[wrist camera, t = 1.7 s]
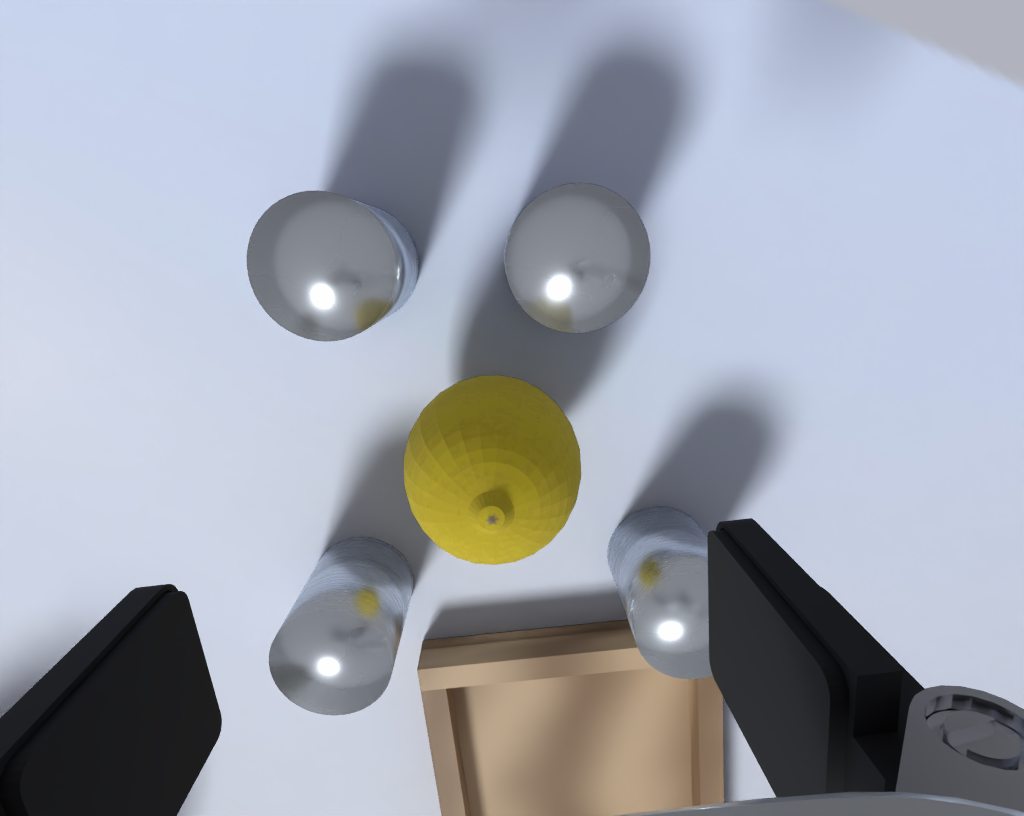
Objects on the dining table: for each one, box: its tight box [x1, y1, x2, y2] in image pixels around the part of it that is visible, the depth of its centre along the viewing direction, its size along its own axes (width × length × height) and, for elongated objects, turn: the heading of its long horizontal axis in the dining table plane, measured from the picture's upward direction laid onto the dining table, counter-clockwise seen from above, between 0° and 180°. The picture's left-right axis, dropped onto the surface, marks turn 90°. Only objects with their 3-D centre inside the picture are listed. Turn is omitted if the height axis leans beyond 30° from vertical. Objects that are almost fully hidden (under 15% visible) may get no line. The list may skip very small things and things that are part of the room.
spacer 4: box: [607, 507, 713, 679], centre depth 22 cm, size 4×4×5 cm
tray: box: [417, 620, 724, 816], centre depth 26 cm, size 12×12×2 cm
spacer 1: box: [247, 191, 419, 341], centre depth 19 cm, size 4×4×5 cm
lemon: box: [404, 375, 581, 565], centre depth 19 cm, size 6×6×8 cm
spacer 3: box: [504, 183, 650, 333], centre depth 19 cm, size 4×4×5 cm
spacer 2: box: [269, 537, 413, 715], centre depth 22 cm, size 4×4×5 cm
